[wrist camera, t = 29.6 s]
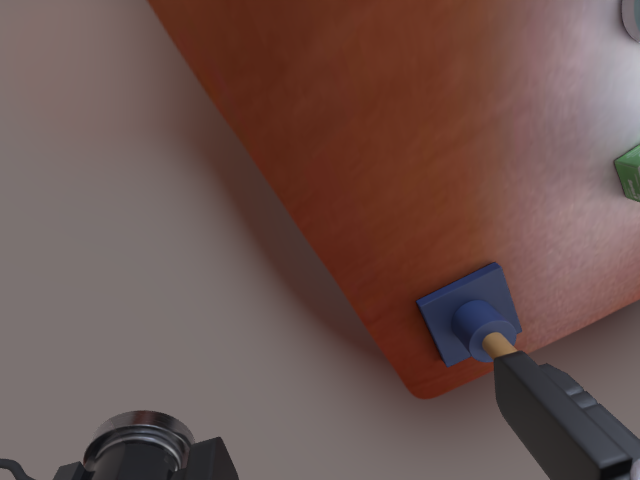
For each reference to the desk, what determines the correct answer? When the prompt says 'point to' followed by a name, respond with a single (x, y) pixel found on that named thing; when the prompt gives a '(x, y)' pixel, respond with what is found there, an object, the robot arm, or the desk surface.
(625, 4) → the pill bottle
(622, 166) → the ink box
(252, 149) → the desk surface
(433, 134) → the desk surface
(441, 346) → the stand
